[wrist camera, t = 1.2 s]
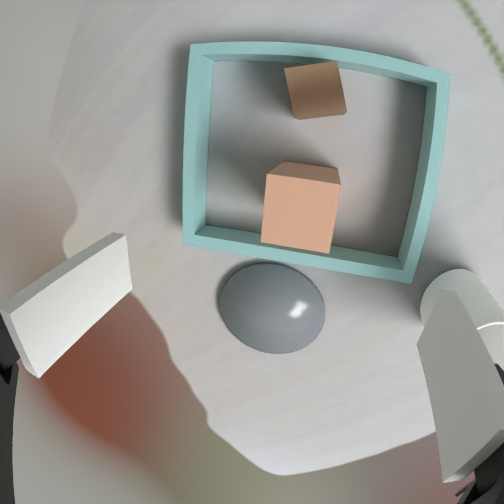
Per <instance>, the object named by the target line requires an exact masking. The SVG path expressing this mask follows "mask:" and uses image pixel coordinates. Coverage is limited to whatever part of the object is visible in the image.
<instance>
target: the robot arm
mask: <svg viewBox="0 0 504 504" xmlns="http://www.w3.org/2000/svg"><path fill="white" fill-rule="evenodd" d="M130 290H132V284H131V276H130V268H129V260H128V251H127V241H126V235H124V234H118V233H111V234H110V235H108V236H106V237H104V238H103V239H101V240H99V241H98V242H96V243H94V244H93V245H91V246H89V247H88V248H86V249H84V250H83V251H81V252H79V253H78V254H76V255H75V256H73V257H71V258H70V259H68V260H67V261H65V262H64V263H62V264H60V265H59V266H57V267H56V268H54V269H53V270H51V271H50V272H48V273H47V274H45V275H44V276H42V277H41V278H39V279H38V280H37V281H35V282H33V283H32V284H30V285H29V286H27V287H26V288H25V289H23V290H22V291H20V292H19V293H18V294H16V295H15V296H13V297H12V298H11V299H9V300H8V301H6V302H5V303H3V304H2V305H1V306H0V504H15V498H14V487H13V468H12V438H13V417H14V404H15V395H16V386H17V379H18V372H19V368H18V364H17V362H16V361H17V360H18V359H20V358H21V360H22V362H23V364H24V366H25V368H26V370H28V371H29V372H30V373H32V374H33V375H34V376H36V377H37V378H40V377H41V376H42V374H44V372H45V371H46V370H47V369H48V368H49V367H50V366H51V365H52V364H53V363H54V362H55V361H56V360H57V359H58V358H59V357H60V356H61V355H62V354H63V353H64V352H66V350H67V349H69V348H70V347H71V346H72V345H73V344H74V343H75V342H76V341H77V340H78V339H79V338H80V337H81V336H82V335H83V334H84V333H85V332H86V331H87V330H88V329H89V328H90V327H91V326H92V325H93V324H95V323H96V322H97V321H98V320H99V319H100V318H101V317H102V316H103V315H104V314H105V313H106V312H107V311H109V309H111V308H112V307H113V306H114V305H115V304H116V303H117V302H118V301H119V300H121V299H122V298H123V297H124V296H125V295H126V294H127V293H128V292H129V291H130ZM417 347H418V351H419V354H420V358H421V362H422V366H423V370H424V374H425V378H426V383H427V387H428V392H429V396H430V401H431V406H432V411H433V416H434V422H435V428H436V434H437V440H438V447H439V453H440V462H441V470H442V480H443V482H451V481H459V480H463V479H464V478H465V477H467V476H468V475H469V474H470V473H471V472H473V471H474V473H475V479H474V480H473V481H471V482H470V483H469V484H467V485H466V486H465V487H463V488H462V489H461V490H459V491H458V492H457V493H456V495H455V496H459V495H460V494H461V493H463V492H464V491H465V492H464V494H463V496H462V497H461V498H460V500H459V502H458V503H457V504H504V371H503V369H502V368H501V367H500V366H499V365H498V364H494V362H493V360H492V358H491V356H490V354H489V352H488V350H487V348H486V346H485V344H484V342H483V340H482V338H481V336H480V334H479V332H478V330H477V328H476V327H475V325H474V323H473V321H472V319H471V317H470V316H469V314H468V312H467V310H466V309H465V307H464V305H463V303H462V302H461V300H460V298H459V297H458V295H457V293H456V292H454V291H448V290H442V289H440V291H439V293H438V296H437V298H436V301H435V304H434V306H433V308H432V311H431V313H430V316H429V318H428V320H427V323H426V325H425V327H424V330H423V332H422V334H421V336H420V338H419V341H418V343H417Z"/></svg>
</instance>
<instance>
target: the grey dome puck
mask: <svg viewBox="0 0 504 504" xmlns="http://www.w3.org/2000/svg"><path fill="white" fill-rule="evenodd" d="M220 312H221V316H222V319H223V321H224V323H225V325H226V326H227V328H228V329H229V331H230V332H231V333H232V334H233V335H234V336H235V337H236V338H237V339H238V340H239V341H241V342H242V343H244V344H245V345H247V346H249V347H251V348H253V349H256V350H258V351H262V352H266V353H272V354H285V353H291V352H295V351H298V350H300V349H302V348H304V347H306V346H308V345H309V344H310V343H312V342H313V341H314V340H315V339H316V338H317V336H318V335H319V333H320V331H321V330H322V327H323V324H324V319H325V306H324V302H323V298H322V296H321V294H320V292H319V290H318V289H317V287H316V286H315V285H314V284H313V282H312V281H311V280H310V279H308V278H307V277H306V276H305V275H303V274H302V273H300V272H299V271H297V270H295V269H293V268H290V267H288V266H285V265H280V264H275V263H259V264H254V265H250V266H247V267H245V268H243V269H241V270H239V271H237V272H236V273H235V274H234V275H232V277H231V278H230V279H229V280H228V281H227V283H226V285H225V286H224V288H223V290H222V292H221V296H220Z"/></svg>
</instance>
